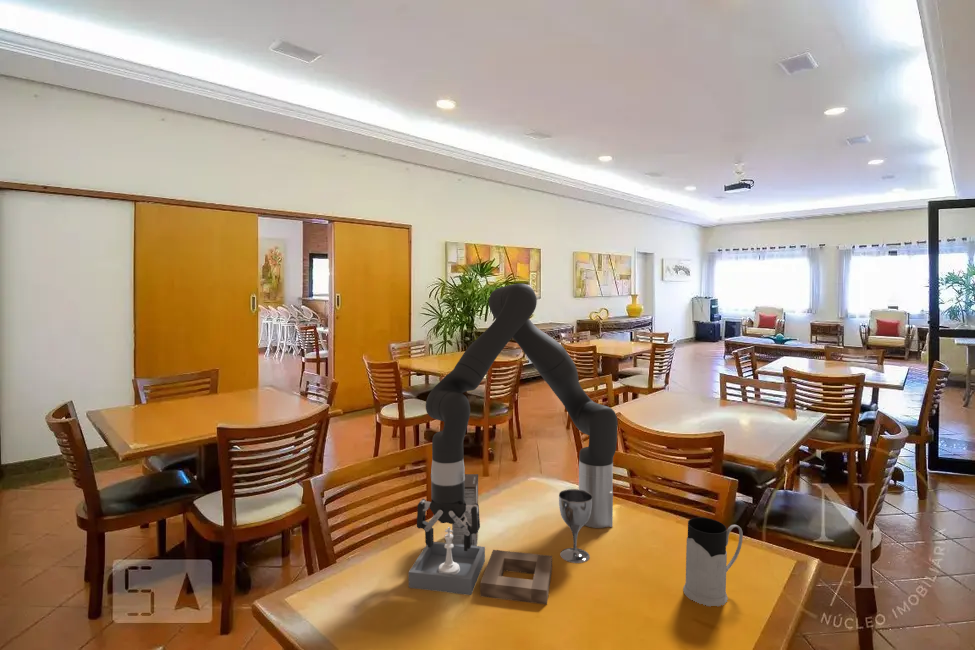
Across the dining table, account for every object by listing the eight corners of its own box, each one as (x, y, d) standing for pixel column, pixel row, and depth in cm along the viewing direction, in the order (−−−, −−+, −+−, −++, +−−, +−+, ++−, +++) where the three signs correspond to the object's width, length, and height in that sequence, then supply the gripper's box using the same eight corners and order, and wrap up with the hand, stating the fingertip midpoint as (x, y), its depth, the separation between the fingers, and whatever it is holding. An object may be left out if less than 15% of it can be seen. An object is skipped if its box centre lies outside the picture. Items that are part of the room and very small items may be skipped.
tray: (484, 561, 120) (484, 546, 120) (471, 595, 107) (471, 579, 106) (429, 554, 123) (428, 541, 123) (408, 587, 109) (408, 571, 109)
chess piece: (456, 577, 112) (456, 533, 111) (435, 574, 113) (435, 531, 112) (462, 565, 117) (462, 523, 116) (441, 563, 118) (441, 521, 117)
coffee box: (454, 531, 135) (454, 473, 134) (478, 532, 135) (478, 473, 134) (451, 549, 126) (451, 486, 125) (477, 549, 126) (477, 486, 125)
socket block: (552, 568, 117) (552, 555, 117) (546, 604, 103) (546, 590, 103) (493, 561, 120) (493, 549, 120) (480, 596, 106) (480, 582, 106)
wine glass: (553, 558, 121) (554, 498, 120) (564, 544, 128) (565, 486, 127) (585, 567, 117) (586, 504, 117) (595, 551, 125) (596, 492, 124)
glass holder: (674, 586, 110) (675, 519, 109) (724, 574, 115) (726, 509, 114) (704, 610, 101) (706, 538, 100) (757, 595, 106) (759, 526, 105)
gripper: (482, 474, 116) (482, 542, 117) (423, 470, 119) (424, 537, 120) (474, 486, 108) (475, 559, 109) (412, 481, 111) (413, 552, 112)
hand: (448, 547), depth 114 cm, fingers open, 8 cm apart
